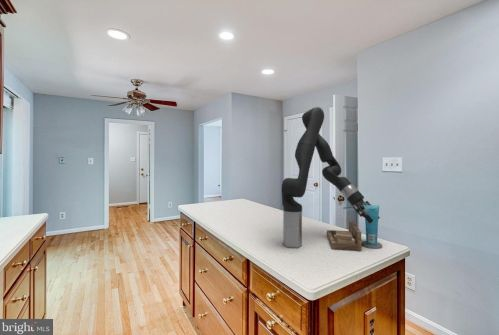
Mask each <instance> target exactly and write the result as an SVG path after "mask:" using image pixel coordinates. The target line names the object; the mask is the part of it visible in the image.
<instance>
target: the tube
mask: <svg viewBox="0 0 499 335" xmlns="http://www.w3.org/2000/svg"><path fill="white" fill-rule="evenodd" d="M364 207H365V208H366V209H367V215H369V216H370V217H371V218H372V219H373V222H371V223H369V222H368V221H367V220H366V219H365V218H364V222H365V223H364V224H365V241H366V243H367V244H369V245H377V242H378V236H379V235H378V234H379V233H378V230H379V219H378V216H379V213H380V211H379V210H380V205H379V204H378V205H376V204H375V205H372V204H371V205H364ZM379 217H380V216H379Z"/></svg>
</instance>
